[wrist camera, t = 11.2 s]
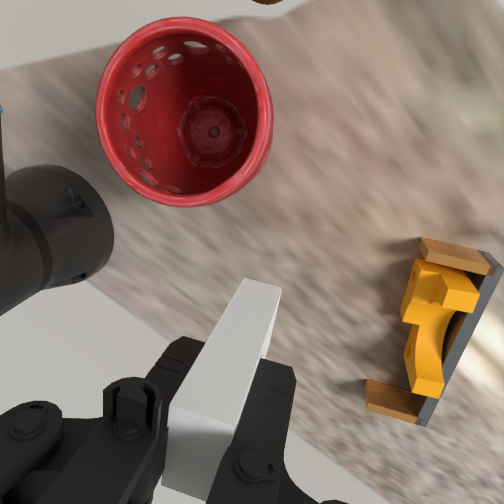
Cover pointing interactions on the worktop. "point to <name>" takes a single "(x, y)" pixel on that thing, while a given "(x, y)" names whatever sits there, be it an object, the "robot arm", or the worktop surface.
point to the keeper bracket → (456, 336)
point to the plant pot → (185, 113)
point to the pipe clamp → (432, 320)
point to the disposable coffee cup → (267, 1)
